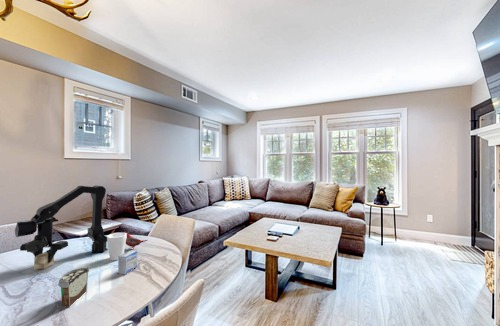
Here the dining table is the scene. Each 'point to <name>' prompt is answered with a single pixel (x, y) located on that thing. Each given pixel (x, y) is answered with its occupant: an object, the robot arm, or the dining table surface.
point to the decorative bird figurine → (133, 241)
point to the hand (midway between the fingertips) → (44, 262)
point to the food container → (73, 285)
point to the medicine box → (127, 262)
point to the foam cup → (116, 245)
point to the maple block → (42, 261)
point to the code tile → (44, 269)
